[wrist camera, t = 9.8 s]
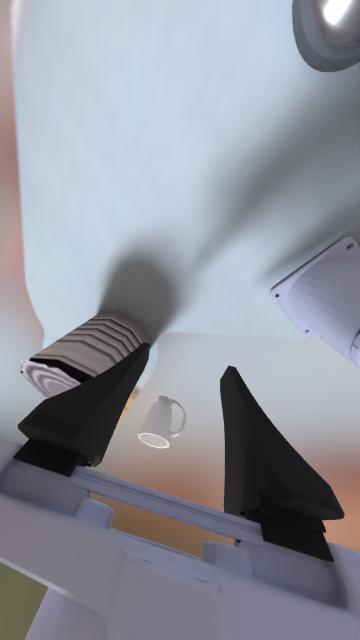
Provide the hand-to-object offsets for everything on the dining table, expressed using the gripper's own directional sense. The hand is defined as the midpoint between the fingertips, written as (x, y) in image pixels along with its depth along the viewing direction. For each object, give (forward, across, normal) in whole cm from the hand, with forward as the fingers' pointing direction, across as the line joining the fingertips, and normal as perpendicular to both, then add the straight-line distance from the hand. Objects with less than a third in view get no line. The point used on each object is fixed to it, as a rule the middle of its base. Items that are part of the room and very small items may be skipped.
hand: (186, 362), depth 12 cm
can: (+10, +12, +8) cm, 17 cm away
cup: (+10, 0, +26) cm, 27 cm away
